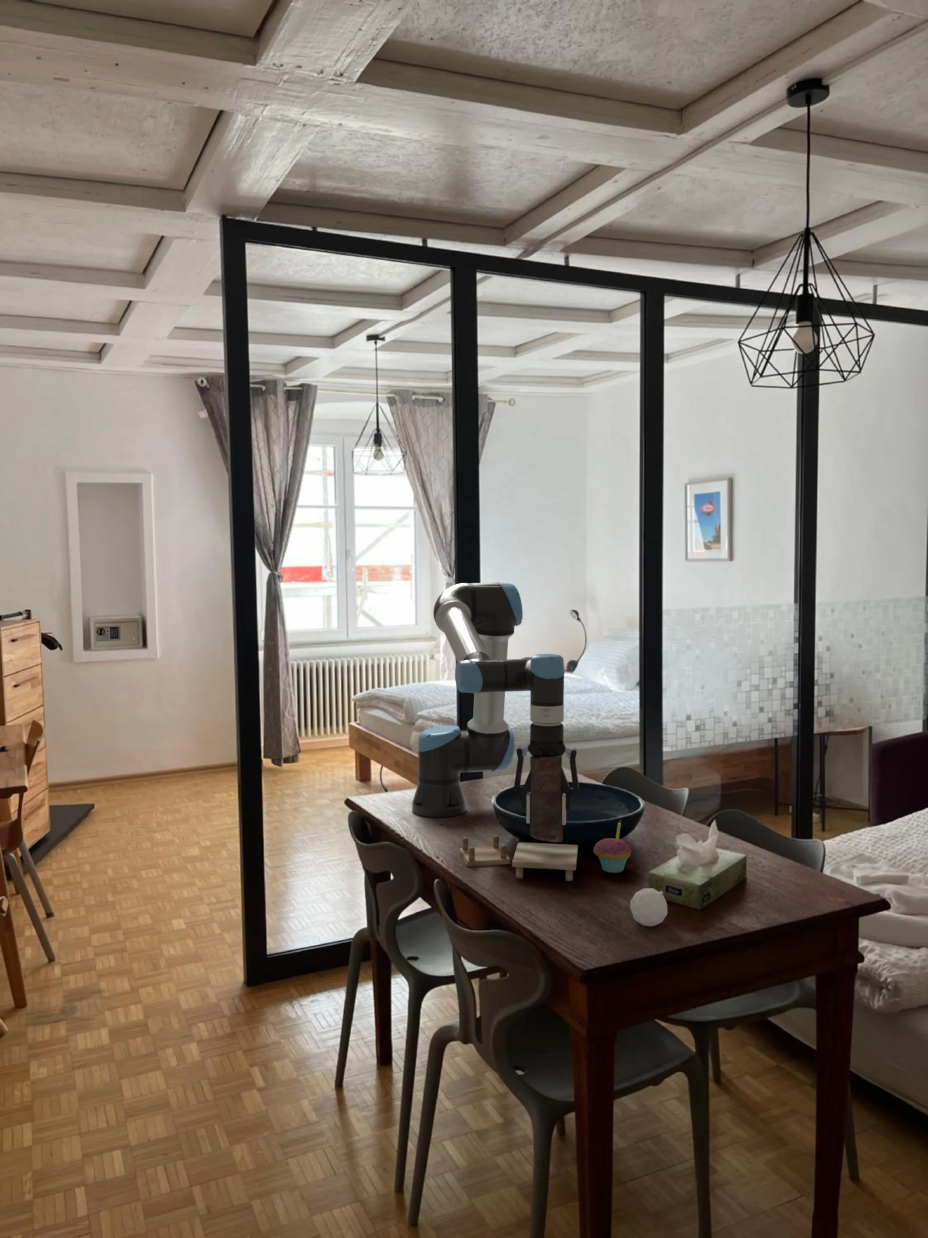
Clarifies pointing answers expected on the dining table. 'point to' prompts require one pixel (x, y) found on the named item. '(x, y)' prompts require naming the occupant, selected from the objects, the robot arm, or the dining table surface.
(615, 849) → the cupcake
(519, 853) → the small wooden stool
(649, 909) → the ornament
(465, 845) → the upturned stool decor
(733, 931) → the dining table surface
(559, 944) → the dining table surface
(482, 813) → the dining table surface
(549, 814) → the brown wooden log
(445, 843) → the dining table surface
